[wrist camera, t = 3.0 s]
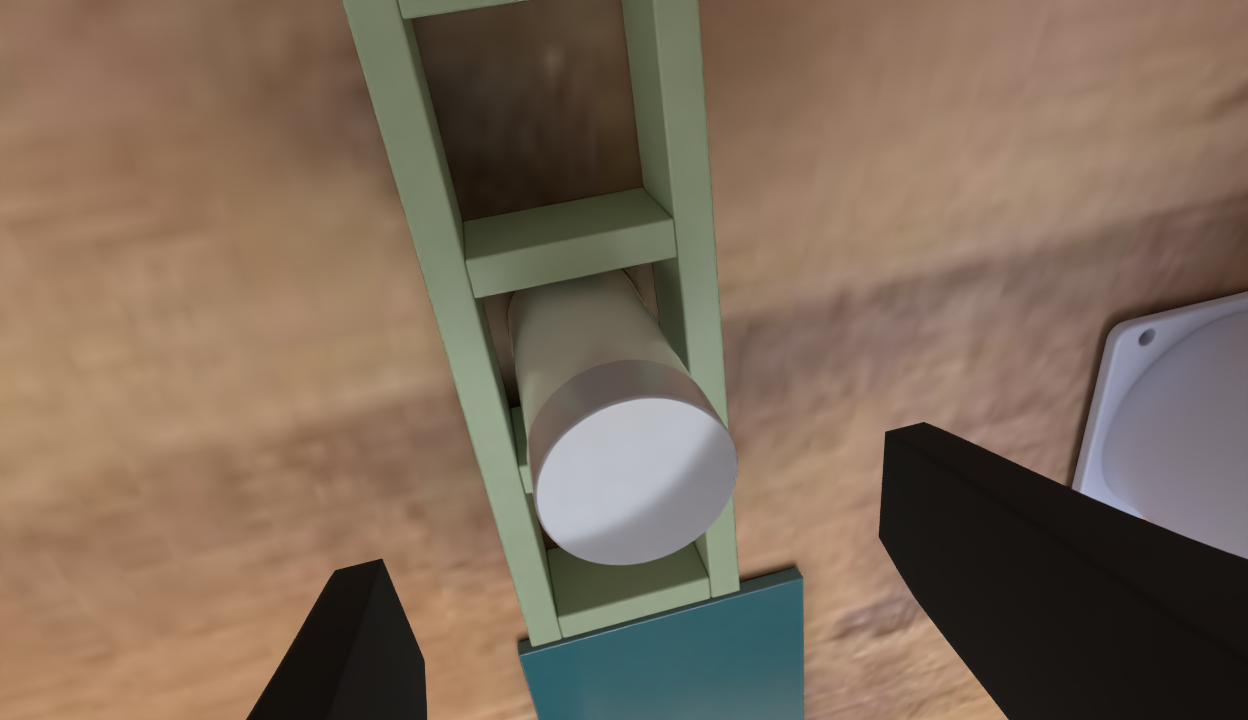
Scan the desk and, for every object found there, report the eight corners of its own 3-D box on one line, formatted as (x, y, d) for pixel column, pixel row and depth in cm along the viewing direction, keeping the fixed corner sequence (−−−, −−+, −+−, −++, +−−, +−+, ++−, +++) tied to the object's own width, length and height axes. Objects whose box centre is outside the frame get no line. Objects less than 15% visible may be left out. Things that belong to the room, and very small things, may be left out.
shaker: (634, 239, 16) (733, 373, 10) (650, 363, 18) (743, 538, 12) (490, 267, 16) (513, 424, 10) (520, 392, 17) (554, 587, 12)
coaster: (796, 566, 22) (803, 577, 22) (799, 736, 27) (805, 748, 26) (516, 641, 21) (518, 655, 21) (567, 806, 26) (569, 820, 25)
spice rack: (653, -72, 13) (693, -83, 11) (710, 528, 21) (740, 591, 19) (352, -28, 13) (332, -32, 10) (523, 576, 20) (531, 648, 18)
